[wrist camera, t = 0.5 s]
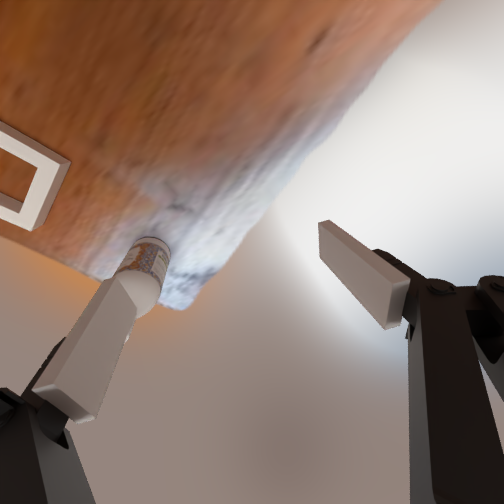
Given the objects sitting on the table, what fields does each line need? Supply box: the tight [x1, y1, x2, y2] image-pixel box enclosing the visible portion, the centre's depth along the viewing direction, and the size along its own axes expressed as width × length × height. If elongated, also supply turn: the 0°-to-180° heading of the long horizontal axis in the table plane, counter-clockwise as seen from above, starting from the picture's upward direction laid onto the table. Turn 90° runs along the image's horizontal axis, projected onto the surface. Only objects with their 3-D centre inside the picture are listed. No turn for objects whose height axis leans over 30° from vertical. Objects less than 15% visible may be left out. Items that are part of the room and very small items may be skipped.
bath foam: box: [112, 237, 170, 342], centre depth 34 cm, size 7×7×20 cm
